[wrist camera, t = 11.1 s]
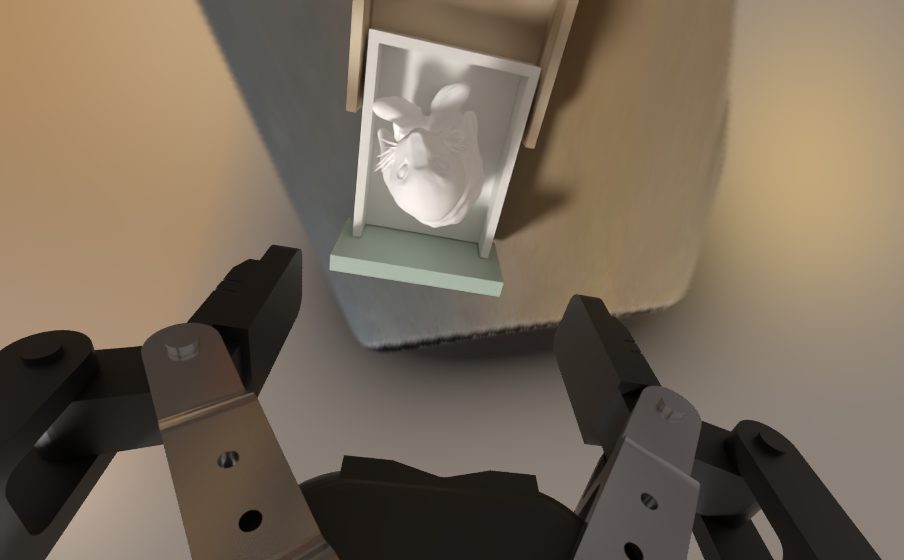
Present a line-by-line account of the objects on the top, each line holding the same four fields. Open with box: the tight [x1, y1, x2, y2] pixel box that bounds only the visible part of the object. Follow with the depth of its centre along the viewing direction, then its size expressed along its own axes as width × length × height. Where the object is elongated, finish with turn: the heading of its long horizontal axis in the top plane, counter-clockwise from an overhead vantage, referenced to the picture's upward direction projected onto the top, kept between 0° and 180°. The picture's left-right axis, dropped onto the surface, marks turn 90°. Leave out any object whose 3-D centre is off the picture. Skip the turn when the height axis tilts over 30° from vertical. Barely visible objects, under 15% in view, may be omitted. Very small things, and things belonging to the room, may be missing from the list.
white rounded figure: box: [372, 81, 484, 228], centre depth 24 cm, size 6×8×12 cm
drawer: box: [330, 28, 541, 297], centre depth 28 cm, size 14×12×6 cm
